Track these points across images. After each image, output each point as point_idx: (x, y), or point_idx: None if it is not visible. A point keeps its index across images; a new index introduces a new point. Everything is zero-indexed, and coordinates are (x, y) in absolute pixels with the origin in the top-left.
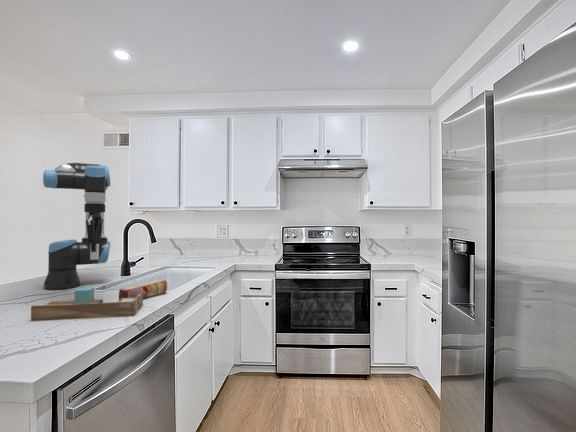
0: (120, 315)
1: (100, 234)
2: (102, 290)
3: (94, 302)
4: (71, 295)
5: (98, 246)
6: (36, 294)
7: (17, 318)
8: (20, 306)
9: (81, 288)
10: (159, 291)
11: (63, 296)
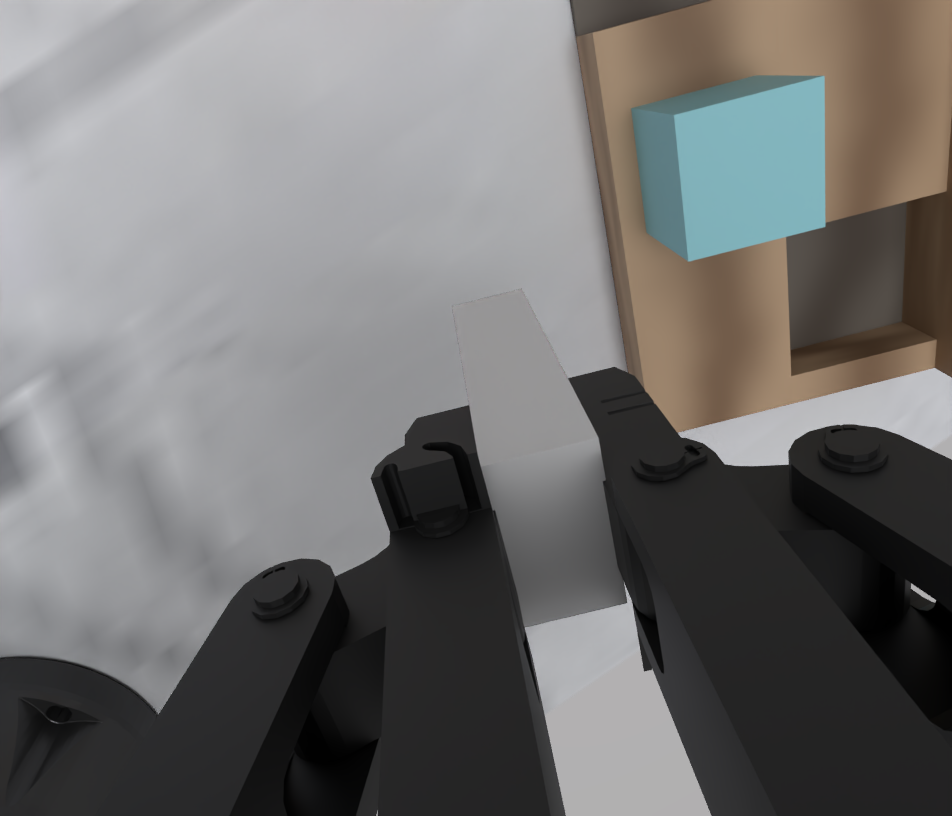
0: None
1: (225, 810)
2: (36, 399)
3: (733, 35)
4: (271, 525)
5: (500, 415)
6: None
7: None
8: (583, 618)
9: (728, 222)
10: None
11: (312, 556)
